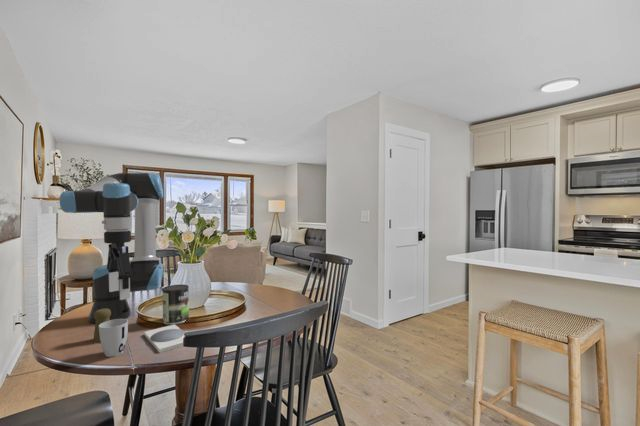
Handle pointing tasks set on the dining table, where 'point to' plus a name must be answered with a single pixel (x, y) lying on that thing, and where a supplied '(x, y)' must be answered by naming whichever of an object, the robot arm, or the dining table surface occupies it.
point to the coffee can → (175, 304)
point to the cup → (113, 336)
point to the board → (165, 338)
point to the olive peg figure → (100, 317)
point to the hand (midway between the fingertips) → (119, 294)
